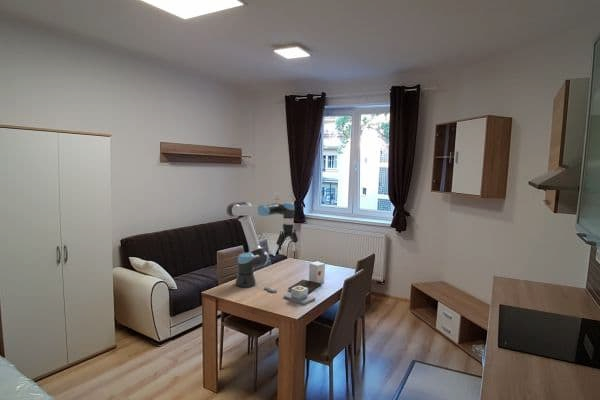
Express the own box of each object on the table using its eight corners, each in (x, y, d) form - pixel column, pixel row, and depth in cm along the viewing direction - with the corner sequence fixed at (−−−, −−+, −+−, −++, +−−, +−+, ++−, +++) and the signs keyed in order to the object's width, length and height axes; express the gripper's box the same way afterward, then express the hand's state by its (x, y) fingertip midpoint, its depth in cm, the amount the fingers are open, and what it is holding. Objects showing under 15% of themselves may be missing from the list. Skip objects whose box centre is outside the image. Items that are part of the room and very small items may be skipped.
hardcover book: (287, 291, 248) (287, 288, 248) (302, 282, 268) (302, 279, 268) (307, 295, 241) (307, 292, 241) (321, 286, 261) (321, 283, 261)
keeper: (283, 297, 234) (284, 287, 233) (295, 293, 243) (295, 282, 242) (303, 305, 222) (304, 294, 222) (315, 300, 232) (315, 289, 231)
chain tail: (262, 289, 249) (262, 288, 249) (266, 288, 252) (266, 286, 252) (274, 293, 241) (274, 292, 241) (278, 292, 244) (278, 290, 244)
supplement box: (316, 284, 263) (317, 265, 261) (308, 281, 269) (309, 262, 268) (324, 282, 269) (325, 263, 267) (316, 279, 275) (317, 261, 274)
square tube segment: (291, 296, 232) (291, 288, 232) (298, 293, 238) (299, 285, 238) (300, 300, 227) (300, 291, 226) (307, 296, 233) (308, 288, 232)
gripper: (279, 226, 235) (278, 256, 237) (303, 222, 253) (302, 250, 256) (272, 224, 240) (271, 254, 242) (296, 221, 258) (294, 248, 261)
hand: (287, 252), depth 249 cm, fingers open, 13 cm apart
